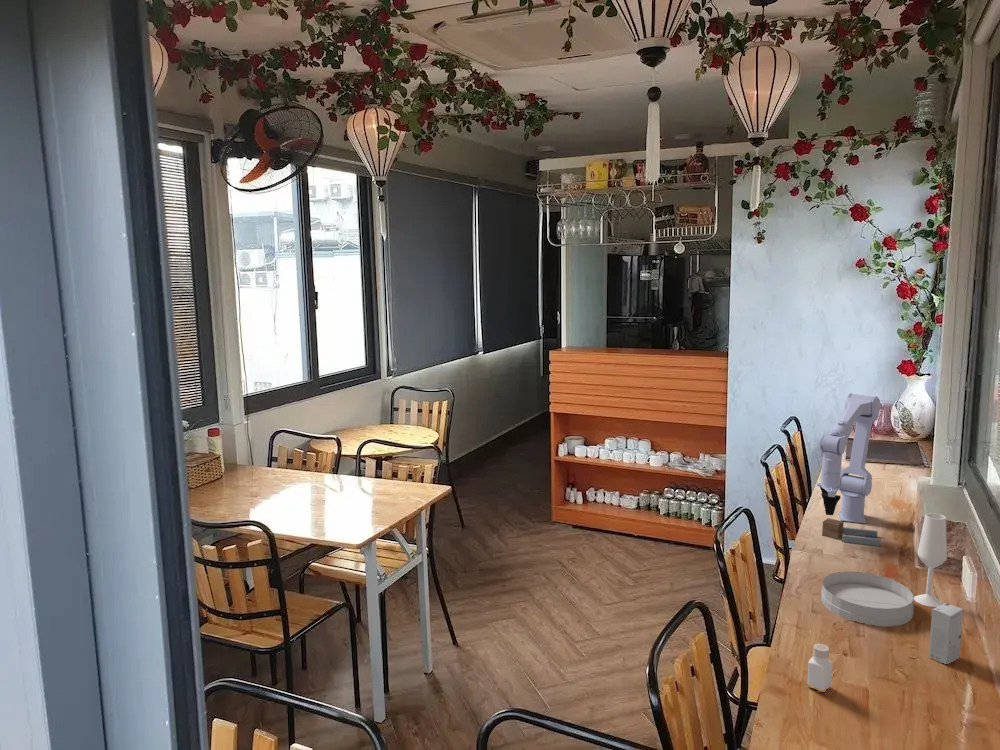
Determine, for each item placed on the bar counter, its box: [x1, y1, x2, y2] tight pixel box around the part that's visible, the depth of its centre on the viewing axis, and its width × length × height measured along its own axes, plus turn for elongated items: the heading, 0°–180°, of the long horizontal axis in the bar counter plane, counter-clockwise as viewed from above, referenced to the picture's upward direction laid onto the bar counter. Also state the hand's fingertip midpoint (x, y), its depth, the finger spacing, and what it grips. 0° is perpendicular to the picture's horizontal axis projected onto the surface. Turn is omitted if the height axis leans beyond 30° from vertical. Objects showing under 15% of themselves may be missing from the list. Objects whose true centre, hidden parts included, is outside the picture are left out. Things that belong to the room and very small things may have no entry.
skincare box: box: [928, 602, 964, 665], centre depth 171 cm, size 6×4×12 cm
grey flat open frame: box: [841, 526, 881, 547], centre depth 241 cm, size 8×11×2 cm
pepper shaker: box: [806, 643, 833, 690], centre depth 160 cm, size 4×4×10 cm
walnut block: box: [821, 517, 845, 540], centre depth 244 cm, size 4×5×5 cm
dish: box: [820, 571, 914, 627], centre depth 197 cm, size 22×22×5 cm
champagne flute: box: [913, 512, 948, 608], centre depth 197 cm, size 7×7×24 cm
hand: (828, 511), depth 243 cm, fingers open, 6 cm apart
